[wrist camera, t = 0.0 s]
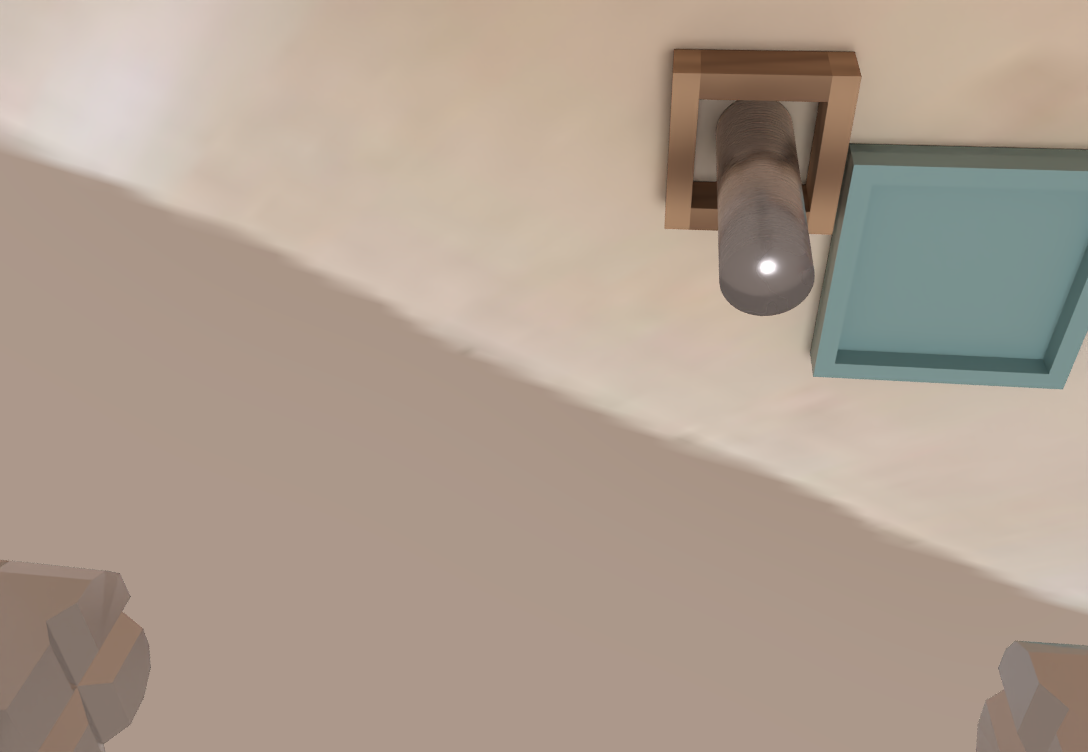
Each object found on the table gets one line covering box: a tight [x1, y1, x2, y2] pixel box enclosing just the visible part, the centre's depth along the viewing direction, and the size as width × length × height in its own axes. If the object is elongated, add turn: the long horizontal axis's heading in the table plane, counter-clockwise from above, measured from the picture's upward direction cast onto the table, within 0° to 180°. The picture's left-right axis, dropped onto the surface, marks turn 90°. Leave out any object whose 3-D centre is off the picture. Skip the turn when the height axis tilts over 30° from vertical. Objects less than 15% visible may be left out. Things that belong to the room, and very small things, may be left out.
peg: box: [716, 100, 814, 316], centre depth 43 cm, size 4×4×12 cm
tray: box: [810, 144, 1088, 389], centre depth 50 cm, size 13×13×2 cm
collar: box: [665, 49, 862, 235], centre depth 46 cm, size 8×8×2 cm
